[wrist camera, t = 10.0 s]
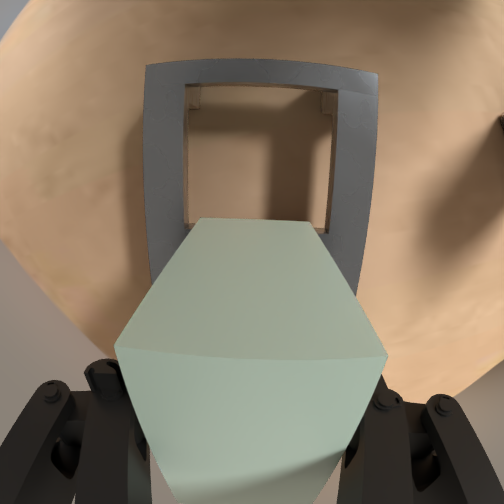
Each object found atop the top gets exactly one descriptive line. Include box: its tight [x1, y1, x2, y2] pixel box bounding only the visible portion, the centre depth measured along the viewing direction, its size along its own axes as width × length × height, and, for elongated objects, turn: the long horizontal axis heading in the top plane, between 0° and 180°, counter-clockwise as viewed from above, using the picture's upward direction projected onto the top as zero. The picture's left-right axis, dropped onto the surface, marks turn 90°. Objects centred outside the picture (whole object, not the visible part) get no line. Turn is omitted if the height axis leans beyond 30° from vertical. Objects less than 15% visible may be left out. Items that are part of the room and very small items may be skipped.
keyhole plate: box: [143, 59, 378, 297], centre depth 16 cm, size 18×11×4 cm, turn 178°
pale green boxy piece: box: [114, 217, 388, 504], centre depth 12 cm, size 8×6×12 cm
